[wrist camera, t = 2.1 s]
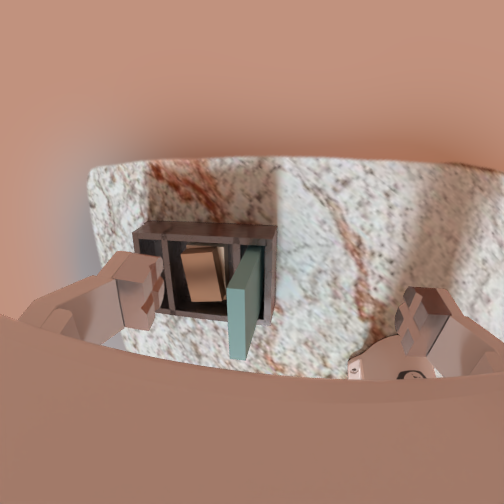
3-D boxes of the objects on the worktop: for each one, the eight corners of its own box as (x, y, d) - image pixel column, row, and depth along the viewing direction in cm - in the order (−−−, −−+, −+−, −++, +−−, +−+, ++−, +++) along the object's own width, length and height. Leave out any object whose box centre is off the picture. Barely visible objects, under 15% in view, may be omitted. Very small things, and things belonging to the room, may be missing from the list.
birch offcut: (229, 292, 53) (225, 299, 51) (195, 289, 54) (190, 296, 52) (227, 241, 50) (223, 247, 47) (191, 239, 51) (186, 244, 48)
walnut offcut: (225, 293, 50) (221, 301, 48) (196, 294, 51) (191, 301, 49) (216, 246, 48) (212, 252, 45) (186, 248, 49) (180, 254, 46)
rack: (274, 304, 54) (270, 325, 48) (157, 292, 58) (141, 310, 52) (277, 225, 49) (272, 239, 43) (148, 220, 52) (129, 232, 46)
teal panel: (263, 298, 52) (245, 360, 38) (251, 296, 53) (229, 358, 38) (264, 240, 49) (244, 289, 34) (251, 239, 49) (226, 288, 34)
